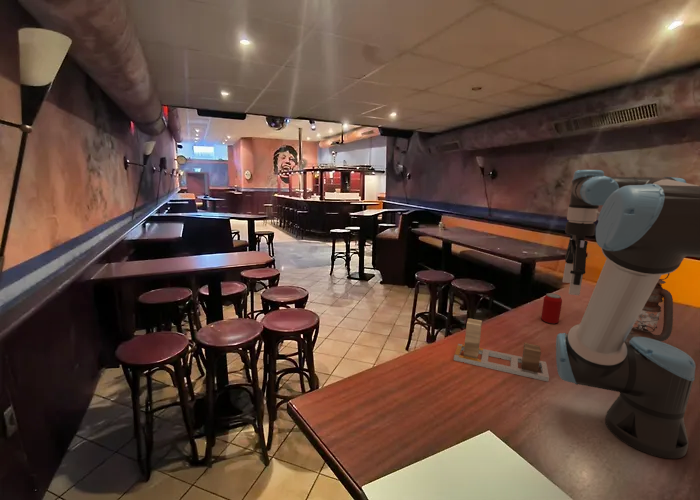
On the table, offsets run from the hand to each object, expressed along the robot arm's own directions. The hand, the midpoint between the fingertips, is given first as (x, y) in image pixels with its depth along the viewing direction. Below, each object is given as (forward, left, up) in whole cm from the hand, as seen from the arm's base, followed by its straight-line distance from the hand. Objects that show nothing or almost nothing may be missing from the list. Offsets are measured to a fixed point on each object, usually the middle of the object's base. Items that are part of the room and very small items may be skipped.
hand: (570, 288), depth 109 cm
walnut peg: (-8, +9, -27) cm, 29 cm away
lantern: (+32, -30, -27) cm, 51 cm away
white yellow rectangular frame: (-8, +18, -27) cm, 33 cm away
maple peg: (-8, +27, -27) cm, 39 cm away
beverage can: (+40, -1, -27) cm, 48 cm away
